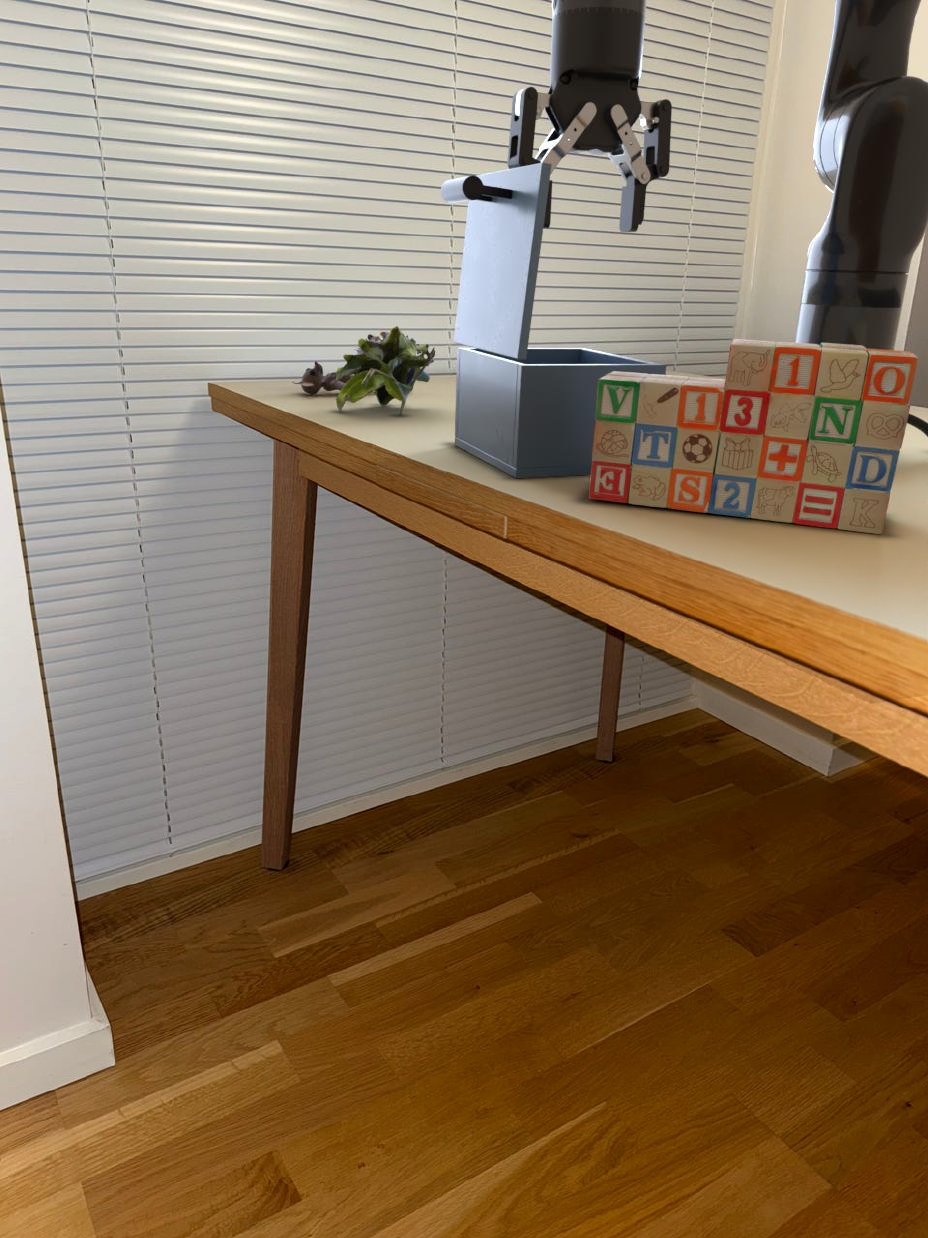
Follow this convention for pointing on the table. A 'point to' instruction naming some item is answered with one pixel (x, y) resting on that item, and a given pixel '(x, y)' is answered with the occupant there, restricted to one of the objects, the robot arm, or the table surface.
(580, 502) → the table surface
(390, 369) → the green leafy plant
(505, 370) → the blue-grey open box
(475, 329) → the lid
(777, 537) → the table surface
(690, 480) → the stack of blocks
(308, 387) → the grey irregular figure
